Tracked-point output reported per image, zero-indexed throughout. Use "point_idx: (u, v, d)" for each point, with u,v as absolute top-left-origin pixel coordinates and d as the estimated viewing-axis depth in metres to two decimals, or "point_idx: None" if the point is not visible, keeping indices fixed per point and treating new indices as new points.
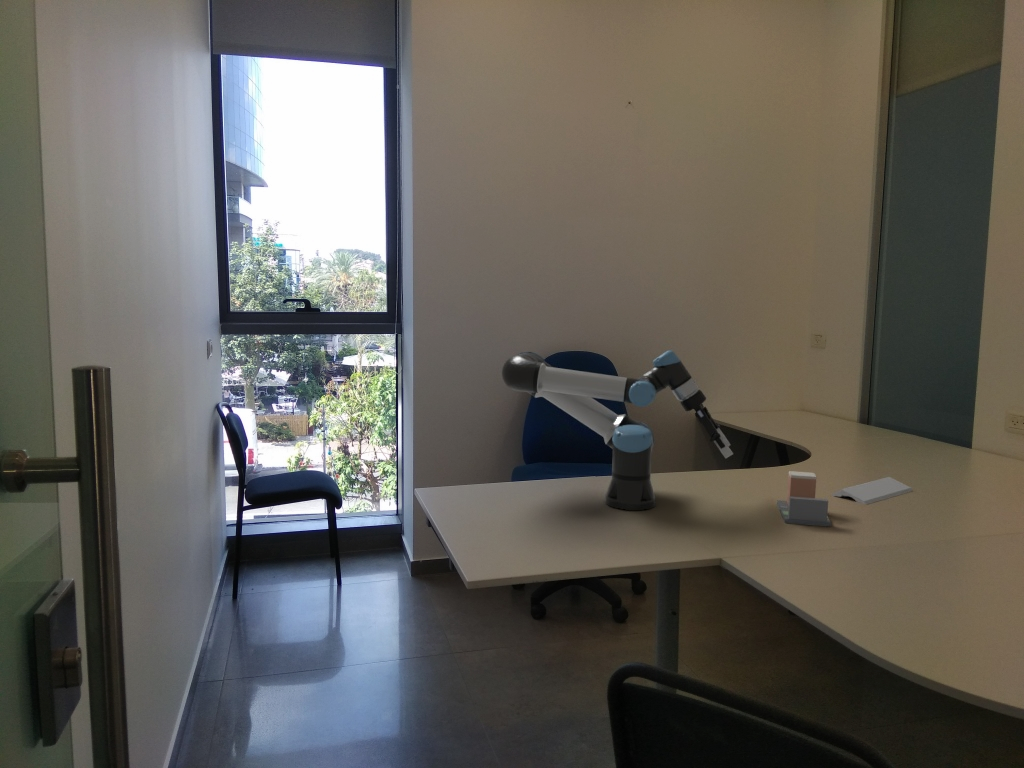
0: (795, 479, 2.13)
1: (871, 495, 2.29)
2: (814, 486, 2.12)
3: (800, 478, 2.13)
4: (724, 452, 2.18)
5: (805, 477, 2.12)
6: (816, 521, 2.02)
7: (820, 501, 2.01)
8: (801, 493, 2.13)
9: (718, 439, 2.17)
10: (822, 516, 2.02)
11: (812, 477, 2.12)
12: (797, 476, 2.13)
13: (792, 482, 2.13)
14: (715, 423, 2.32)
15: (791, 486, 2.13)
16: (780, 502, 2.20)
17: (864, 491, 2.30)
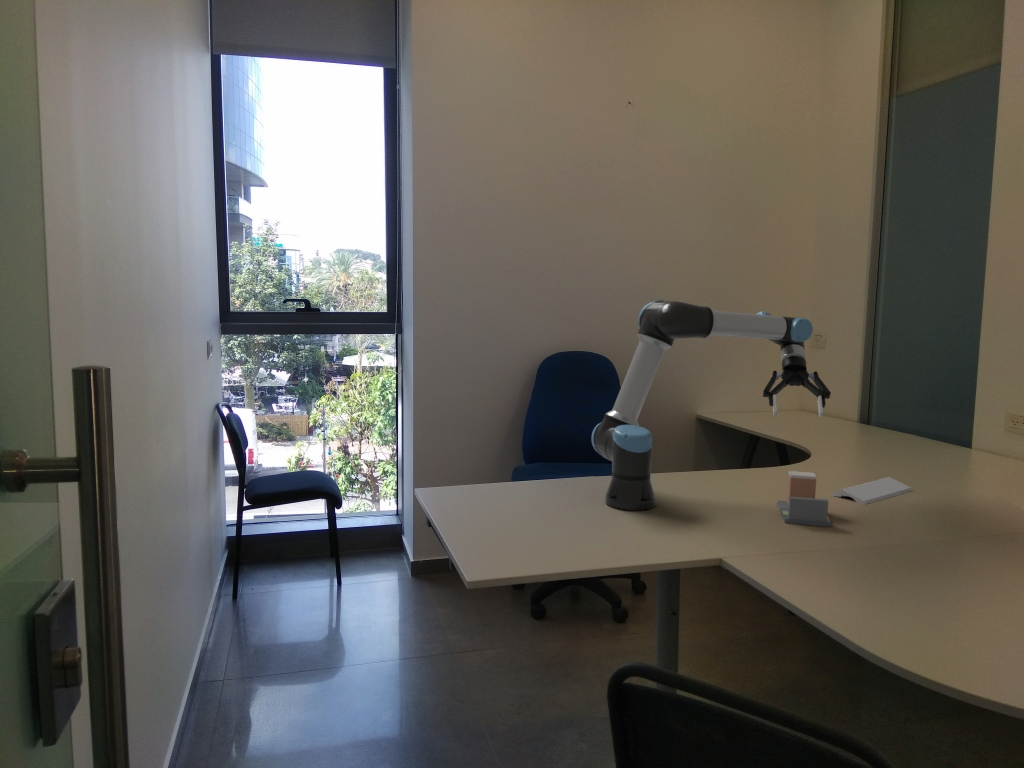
0: (795, 479, 2.13)
1: (871, 495, 2.29)
2: (814, 486, 2.12)
3: (800, 478, 2.13)
4: None
5: (805, 477, 2.12)
6: (816, 521, 2.02)
7: (820, 501, 2.01)
8: (801, 493, 2.13)
9: (824, 399, 2.28)
10: (822, 516, 2.02)
11: (812, 477, 2.12)
12: (797, 476, 2.13)
13: (792, 482, 2.13)
14: None
15: (791, 486, 2.13)
16: (780, 502, 2.20)
17: (864, 491, 2.30)
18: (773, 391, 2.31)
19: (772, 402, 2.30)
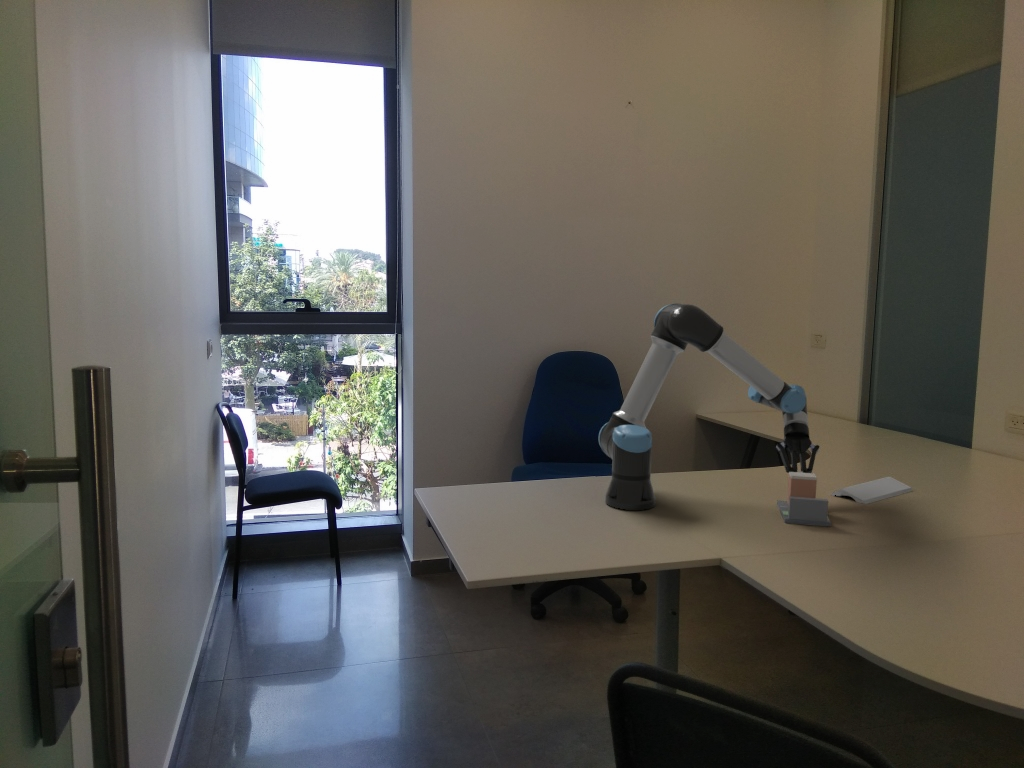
0: (795, 480, 2.12)
1: (871, 495, 2.29)
2: (814, 487, 2.11)
3: (800, 479, 2.12)
4: None
5: (805, 478, 2.11)
6: (816, 521, 2.02)
7: (820, 501, 2.01)
8: (802, 493, 2.12)
9: None
10: (822, 516, 2.02)
11: (812, 478, 2.11)
12: (797, 477, 2.12)
13: (792, 483, 2.12)
14: None
15: (791, 487, 2.13)
16: (780, 502, 2.20)
17: (863, 491, 2.31)
18: (795, 466, 2.22)
19: None
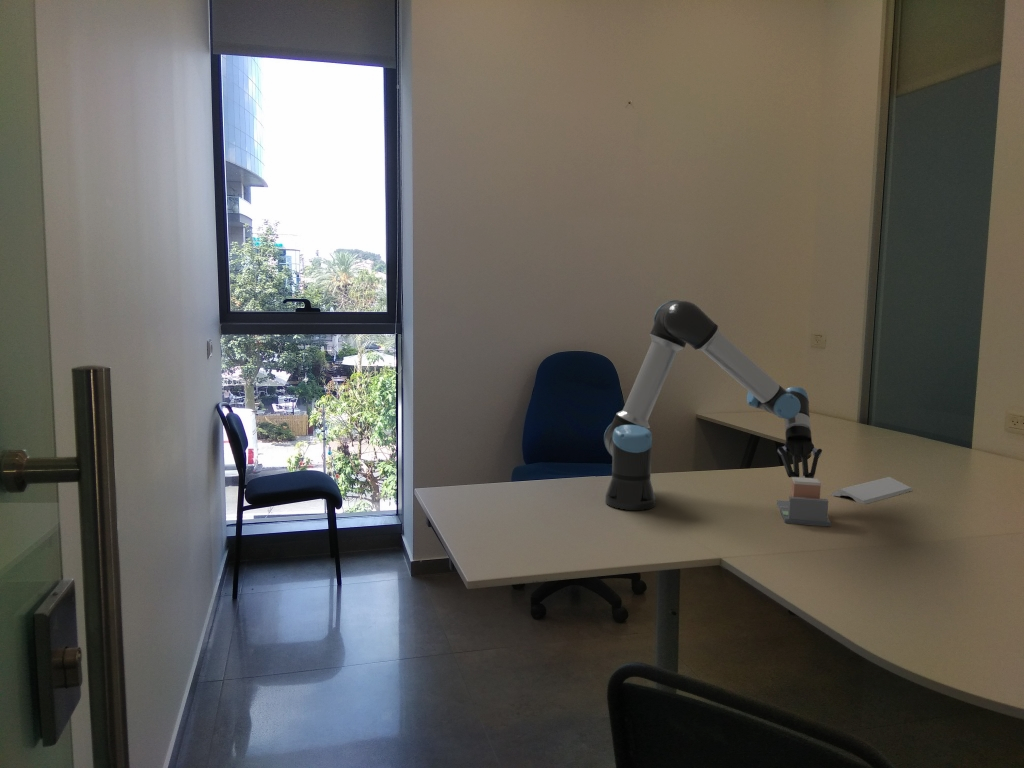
0: (799, 485, 2.06)
1: (871, 495, 2.29)
2: (818, 492, 2.05)
3: (804, 484, 2.06)
4: None
5: (809, 483, 2.05)
6: (816, 521, 2.02)
7: (820, 501, 2.01)
8: None
9: None
10: (822, 516, 2.02)
11: (816, 483, 2.05)
12: (801, 482, 2.06)
13: (796, 488, 2.06)
14: None
15: (794, 492, 2.07)
16: (780, 502, 2.20)
17: (863, 491, 2.31)
18: (797, 471, 2.16)
19: None
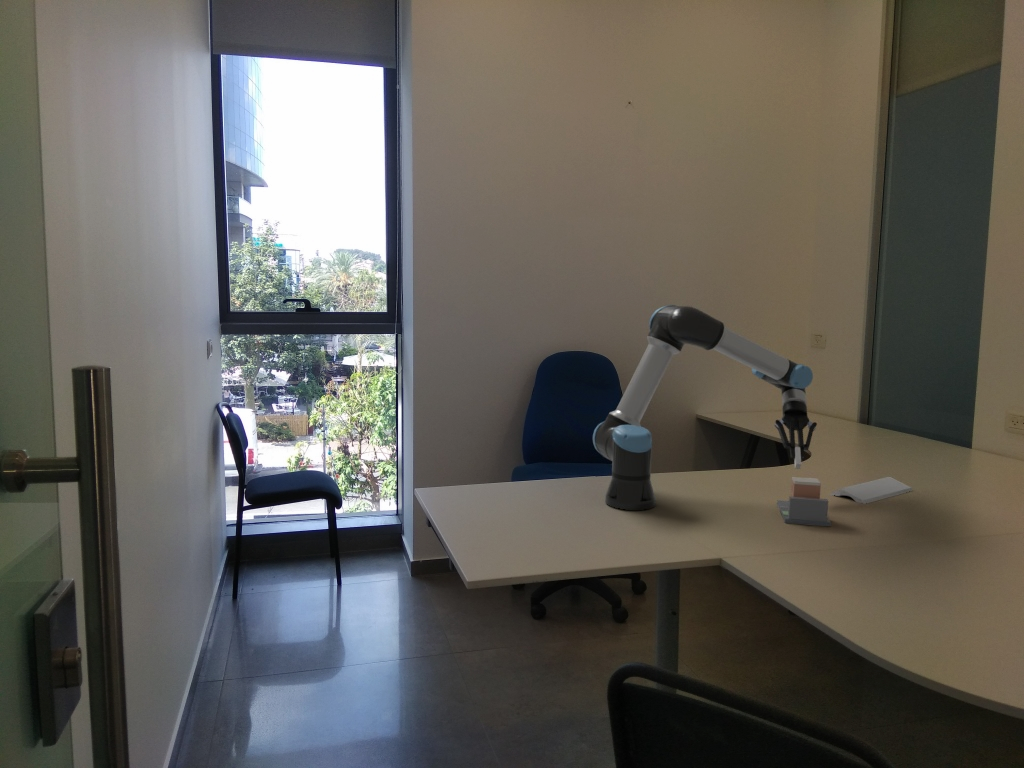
0: (799, 485, 2.06)
1: (871, 494, 2.29)
2: (818, 492, 2.05)
3: (804, 484, 2.06)
4: (800, 461, 2.25)
5: (809, 483, 2.05)
6: (816, 521, 2.02)
7: (820, 501, 2.01)
8: None
9: None
10: (822, 516, 2.02)
11: (816, 483, 2.05)
12: (801, 482, 2.06)
13: (796, 488, 2.06)
14: None
15: (795, 492, 2.07)
16: (780, 502, 2.20)
17: (863, 491, 2.31)
18: (793, 442, 2.29)
19: (794, 454, 2.27)
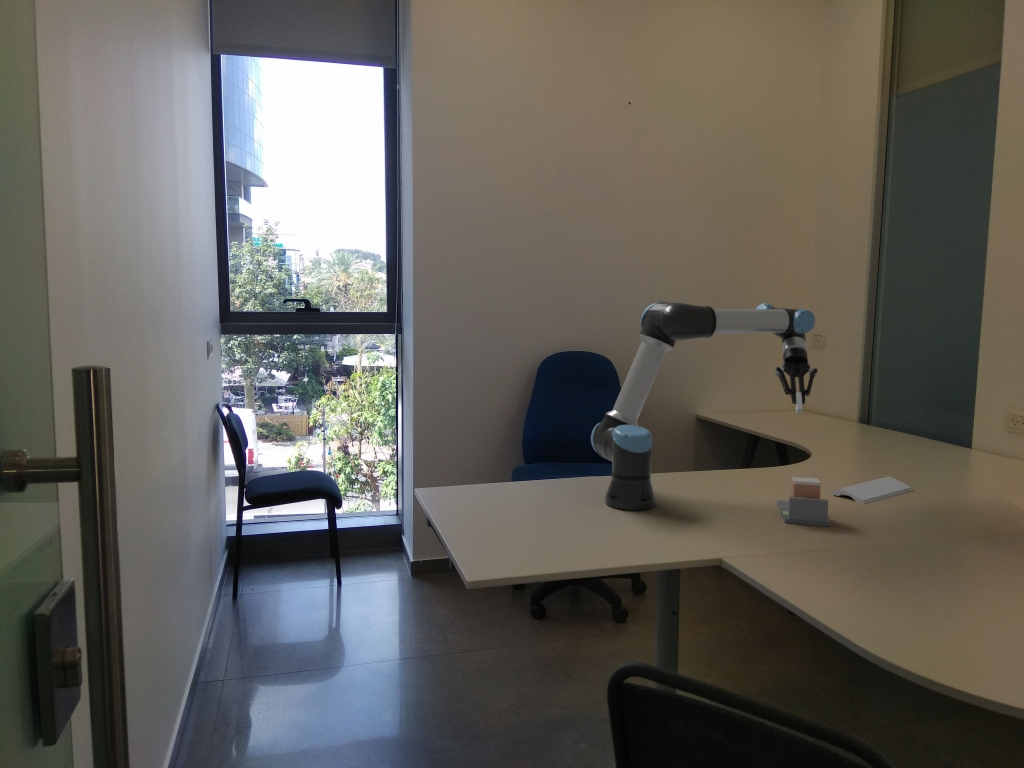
0: (799, 485, 2.06)
1: (870, 494, 2.29)
2: (818, 492, 2.05)
3: (804, 484, 2.06)
4: (801, 405, 2.26)
5: (809, 483, 2.05)
6: (816, 521, 2.02)
7: (820, 501, 2.01)
8: None
9: (804, 396, 2.29)
10: (822, 516, 2.02)
11: (816, 483, 2.05)
12: (801, 482, 2.06)
13: (796, 488, 2.06)
14: None
15: (795, 492, 2.07)
16: (780, 502, 2.20)
17: (863, 490, 2.31)
18: (794, 388, 2.29)
19: (795, 400, 2.27)
